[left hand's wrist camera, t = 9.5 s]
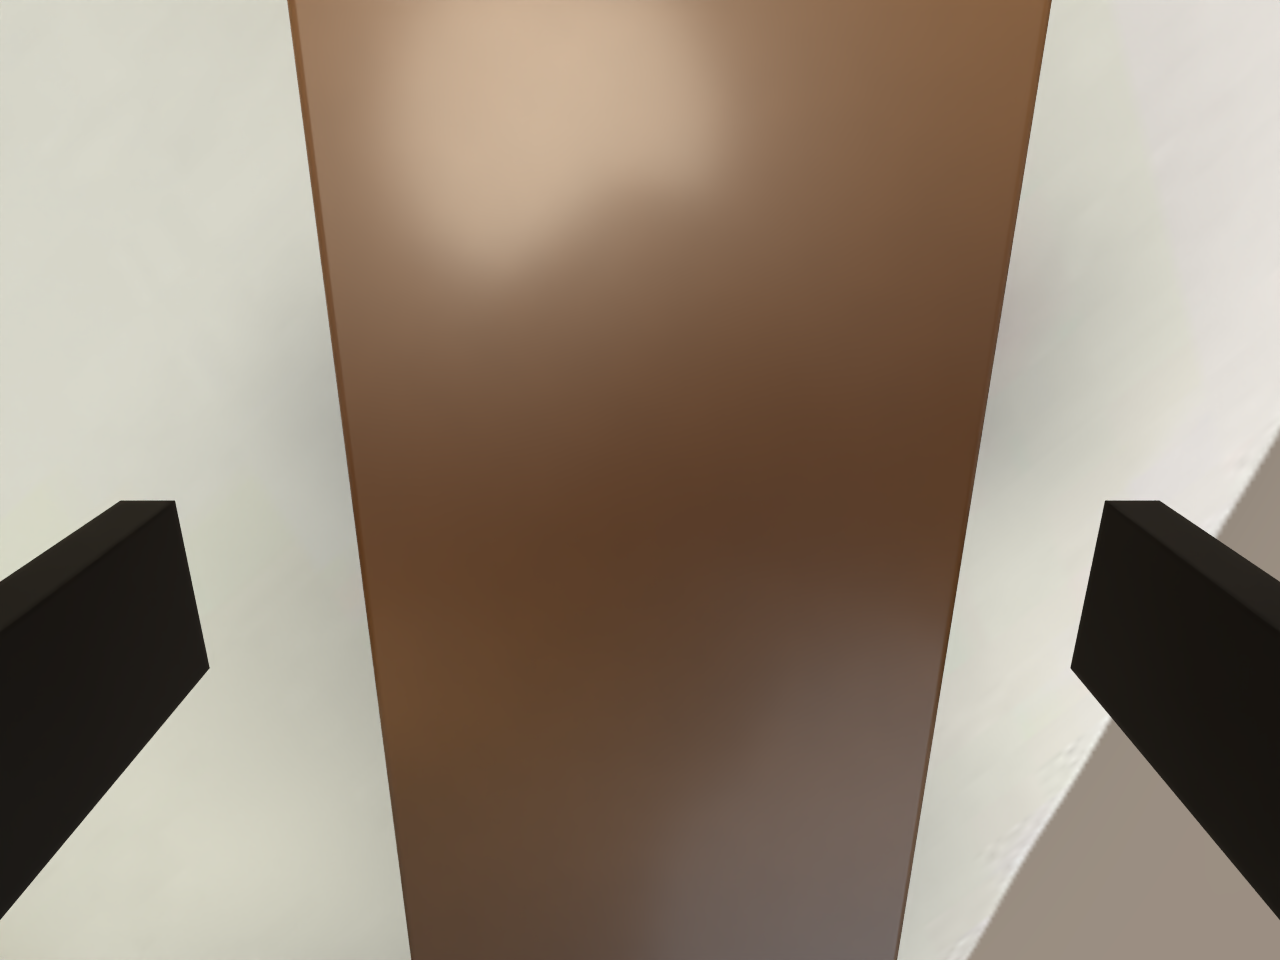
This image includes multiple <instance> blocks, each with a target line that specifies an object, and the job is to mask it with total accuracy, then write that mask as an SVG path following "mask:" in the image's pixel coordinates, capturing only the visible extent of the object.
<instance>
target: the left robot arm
mask: <svg viewBox="0 0 1280 960" xmlns="http://www.w3.org/2000/svg"><path fill="white" fill-rule="evenodd" d="M208 669H209V663H208V658H207V653H206V649H205V644H204V639H203V634H202V629H201V624H200V620H199V615H198V610H197V605H196V600H195V595H194V591H193V586H192V581H191V576H190V571H189V566H188V562H187V557H186V552H185V547H184V542H183V537H182V533H181V528H180V523H179V518H178V513H177V508H176V504H175V501H119V502H118V503H116V504H115V505H113V506H112V507H110V508H109V509H107V510H106V511H104V512H103V513H102V514H100V515H99V516H97V517H96V518H94V519H93V520H91V521H90V522H88V523H87V524H85V525H84V526H82V527H81V528H79V529H78V530H76V531H75V532H73V533H72V534H70V535H69V536H67V537H66V538H64V539H63V540H61V541H60V542H59V543H57V544H56V545H54V546H53V547H51V548H50V549H48V550H47V551H45V552H44V553H42V554H41V555H39V556H38V557H36V558H35V559H33V560H32V561H30V562H29V563H27V564H26V565H24V566H23V567H21V568H20V569H18V570H17V571H15V572H14V573H13V574H11V575H10V576H8V577H7V578H5V579H4V580H2V581H1V582H0V920H1V918H2V917H3V916H4V915H5V913H6V912H7V911H8V910H9V909H10V907H11V906H12V905H13V904H14V903H15V901H16V900H17V899H18V898H19V897H20V895H21V894H22V893H23V892H24V891H25V889H26V888H27V887H28V886H29V885H30V883H31V882H32V881H33V880H34V879H35V877H36V876H37V875H38V874H39V873H40V871H41V870H42V869H43V868H44V867H45V865H46V864H47V863H48V862H49V861H50V859H51V858H52V857H53V856H54V855H55V853H56V852H57V851H58V850H59V849H60V847H61V846H62V845H63V844H64V843H65V841H66V840H67V839H68V838H69V837H70V835H71V834H72V833H73V832H74V831H75V829H76V828H77V827H78V826H79V825H80V823H81V822H82V821H83V820H84V818H85V817H86V816H87V815H88V814H89V812H90V811H91V810H92V809H93V808H94V806H95V805H96V804H97V803H98V802H99V800H100V799H101V798H102V797H103V796H104V794H105V793H106V792H107V791H108V790H109V788H110V787H111V786H112V785H113V784H114V782H115V781H116V780H117V779H118V778H119V776H120V775H121V774H122V773H123V772H124V770H125V769H126V768H127V767H128V766H129V764H130V763H131V762H132V761H133V760H134V758H135V757H136V756H137V755H138V754H139V752H140V751H141V750H142V749H143V748H144V746H145V745H146V744H147V743H148V742H149V740H150V739H151V738H152V737H153V736H154V734H155V733H156V732H157V731H158V730H159V728H160V727H161V726H162V725H163V723H164V722H165V721H166V720H167V719H168V717H169V716H170V715H171V714H172V713H173V711H174V710H175V709H176V708H177V707H178V705H179V704H180V703H181V702H182V701H183V699H184V698H185V697H186V696H187V695H188V693H189V692H190V691H191V690H192V689H193V687H194V686H195V685H196V684H197V683H198V681H199V680H200V679H201V678H202V677H203V675H204V674H205V673H206V672H207V671H208ZM1071 669H1072V671H1073V672H1074V673H1075V674H1076V675H1077V677H1078V678H1079V679H1080V680H1081V681H1082V683H1083V684H1084V685H1085V686H1086V687H1087V689H1088V690H1089V691H1090V692H1091V693H1092V695H1093V696H1094V697H1095V698H1096V699H1097V701H1098V702H1099V703H1100V704H1101V705H1102V707H1103V708H1104V709H1105V710H1106V711H1107V713H1108V714H1109V715H1110V716H1111V717H1112V719H1113V720H1114V721H1115V722H1116V723H1117V725H1118V726H1119V727H1120V728H1121V730H1122V731H1123V732H1124V733H1125V734H1126V736H1127V737H1128V738H1129V739H1130V740H1131V741H1132V743H1133V744H1134V745H1135V746H1136V748H1137V749H1138V750H1139V751H1140V752H1141V754H1142V755H1143V756H1144V757H1145V758H1146V760H1147V761H1148V762H1149V763H1150V764H1151V766H1152V767H1153V768H1154V769H1155V770H1156V772H1157V773H1158V774H1159V775H1160V776H1161V778H1162V779H1163V780H1164V781H1165V782H1166V784H1167V785H1168V786H1169V787H1170V788H1171V790H1172V791H1173V792H1174V793H1175V794H1176V796H1177V797H1178V798H1179V799H1180V800H1181V802H1182V803H1183V804H1184V805H1185V806H1186V808H1187V809H1188V810H1189V811H1190V812H1191V814H1192V815H1193V816H1194V817H1195V818H1196V820H1197V821H1198V822H1199V823H1200V825H1201V826H1202V827H1203V828H1204V829H1205V831H1206V832H1207V833H1208V834H1209V835H1210V837H1211V838H1212V839H1213V840H1214V841H1215V843H1216V844H1217V845H1218V846H1219V847H1220V849H1221V850H1222V851H1223V852H1224V853H1225V855H1226V856H1227V857H1228V858H1229V859H1230V861H1231V862H1232V863H1233V864H1234V865H1235V867H1236V868H1237V869H1238V870H1239V871H1240V873H1241V874H1242V875H1243V876H1244V877H1245V879H1246V880H1247V881H1248V882H1249V883H1250V885H1251V886H1252V887H1253V888H1254V889H1255V891H1256V892H1257V893H1258V894H1259V895H1260V897H1261V898H1262V899H1263V900H1264V901H1265V903H1266V904H1267V905H1268V906H1269V907H1270V909H1271V910H1272V911H1273V912H1274V913H1275V915H1276V916H1277V917H1278V918H1279V919H1280V582H1279V581H1278V580H1276V579H1275V578H1273V577H1272V576H1270V575H1269V574H1267V573H1266V572H1265V571H1263V570H1262V569H1260V568H1258V567H1257V566H1256V565H1254V564H1253V563H1251V562H1250V561H1248V560H1247V559H1245V558H1244V557H1242V556H1241V555H1239V554H1238V553H1236V552H1235V551H1233V550H1232V549H1230V548H1229V547H1227V546H1226V545H1224V544H1223V543H1221V542H1220V541H1219V540H1217V539H1216V538H1214V537H1213V536H1211V535H1210V534H1208V533H1207V532H1205V531H1204V530H1202V529H1201V528H1199V527H1198V526H1196V525H1195V524H1193V523H1192V522H1190V521H1189V520H1187V519H1186V518H1184V517H1183V516H1181V515H1180V514H1178V513H1177V512H1176V511H1174V510H1173V509H1171V508H1170V507H1168V506H1167V505H1165V504H1164V503H1162V502H1161V501H1105V504H1104V508H1103V513H1102V518H1101V523H1100V528H1099V533H1098V537H1097V542H1096V547H1095V552H1094V557H1093V562H1092V566H1091V571H1090V576H1089V581H1088V586H1087V591H1086V595H1085V600H1084V605H1083V610H1082V615H1081V620H1080V624H1079V629H1078V634H1077V639H1076V644H1075V649H1074V653H1073V658H1072V663H1071Z"/></svg>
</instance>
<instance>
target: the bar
mask: <svg viewBox="0 0 1280 960" xmlns="http://www.w3.org/2000/svg"><path fill="white" fill-rule="evenodd" d="M287 2H288V10H289V18H290V25H291V33H292V41H293V49H294V56H295V64H296V72H297V80H298V87H299V95H300V103H301V111H302V118H303V126H304V134H305V141H306V149H307V157H308V165H309V172H310V180H311V188H312V196H313V203H314V211H315V219H316V226H317V234H318V242H319V250H320V257H321V265H322V273H323V281H324V288H325V296H326V304H327V312H328V319H329V327H330V335H331V342H332V350H333V358H334V366H335V373H336V381H337V389H338V397H339V404H340V412H341V420H342V428H343V435H344V443H345V451H346V458H347V466H348V474H349V482H350V489H351V497H352V505H353V513H354V520H355V528H356V536H357V543H358V551H359V559H360V567H361V574H362V582H363V590H364V598H365V605H366V613H367V621H368V629H369V636H370V644H371V652H372V659H373V667H374V675H375V683H376V690H377V698H378V706H379V714H380V721H381V729H382V737H383V744H384V752H385V760H386V768H387V775H388V783H389V791H390V799H391V806H392V814H393V822H394V830H395V837H396V845H397V853H398V860H399V868H400V876H401V884H402V891H403V899H404V907H405V915H406V922H407V930H408V938H409V946H410V953H411V960H897V956H898V950H899V944H900V938H901V932H902V925H903V919H904V913H905V907H906V901H907V894H908V888H909V882H910V876H911V870H912V863H913V857H914V851H915V845H916V839H917V832H918V826H919V820H920V814H921V808H922V801H923V795H924V789H925V783H926V777H927V770H928V764H929V758H930V752H931V746H932V739H933V733H934V727H935V721H936V715H937V708H938V702H939V696H940V690H941V684H942V677H943V671H944V665H945V659H946V653H947V646H948V640H949V634H950V628H951V622H952V615H953V609H954V603H955V597H956V591H957V584H958V578H959V572H960V566H961V560H962V553H963V547H964V541H965V535H966V529H967V522H968V516H969V510H970V504H971V498H972V491H973V485H974V479H975V473H976V467H977V460H978V454H979V448H980V442H981V436H982V429H983V423H984V417H985V411H986V405H987V398H988V392H989V386H990V380H991V374H992V367H993V361H994V355H995V349H996V343H997V336H998V330H999V324H1000V318H1001V312H1002V305H1003V299H1004V293H1005V287H1006V281H1007V274H1008V268H1009V262H1010V256H1011V250H1012V243H1013V237H1014V231H1015V225H1016V219H1017V212H1018V206H1019V200H1020V194H1021V188H1022V181H1023V175H1024V169H1025V163H1026V157H1027V150H1028V144H1029V138H1030V132H1031V126H1032V119H1033V113H1034V107H1035V101H1036V95H1037V88H1038V82H1039V76H1040V70H1041V64H1042V57H1043V51H1044V45H1045V39H1046V33H1047V26H1048V20H1049V14H1050V8H1051V2H1052V0H287Z"/></svg>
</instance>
